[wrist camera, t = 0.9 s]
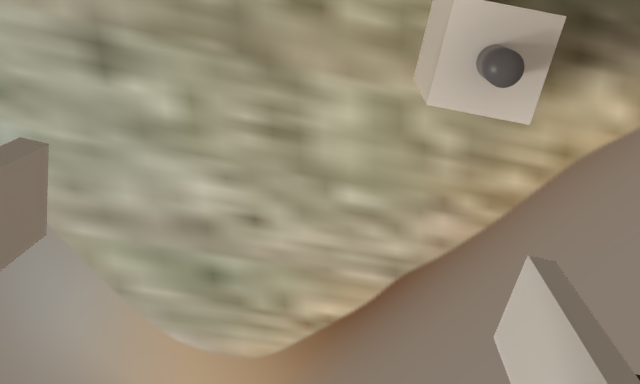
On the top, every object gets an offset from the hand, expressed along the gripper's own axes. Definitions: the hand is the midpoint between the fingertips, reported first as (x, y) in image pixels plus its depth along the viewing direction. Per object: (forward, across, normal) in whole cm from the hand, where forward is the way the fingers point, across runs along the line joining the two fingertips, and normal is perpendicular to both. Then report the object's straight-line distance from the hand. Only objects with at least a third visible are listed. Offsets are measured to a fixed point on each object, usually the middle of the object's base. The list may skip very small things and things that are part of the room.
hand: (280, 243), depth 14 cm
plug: (+22, +7, +5) cm, 23 cm away
